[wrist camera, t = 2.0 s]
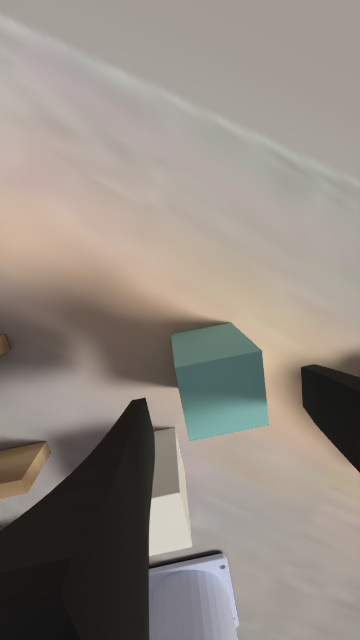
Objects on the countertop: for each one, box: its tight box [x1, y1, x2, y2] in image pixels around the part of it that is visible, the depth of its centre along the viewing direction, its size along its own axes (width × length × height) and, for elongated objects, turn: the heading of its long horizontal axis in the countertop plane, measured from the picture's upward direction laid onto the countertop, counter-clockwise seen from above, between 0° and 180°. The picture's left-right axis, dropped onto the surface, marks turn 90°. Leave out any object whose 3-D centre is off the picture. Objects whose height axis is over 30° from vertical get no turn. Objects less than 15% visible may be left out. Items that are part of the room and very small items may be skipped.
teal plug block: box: [171, 323, 269, 441], centre depth 14 cm, size 4×4×5 cm
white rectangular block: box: [149, 427, 192, 556], centre depth 15 cm, size 4×4×5 cm
